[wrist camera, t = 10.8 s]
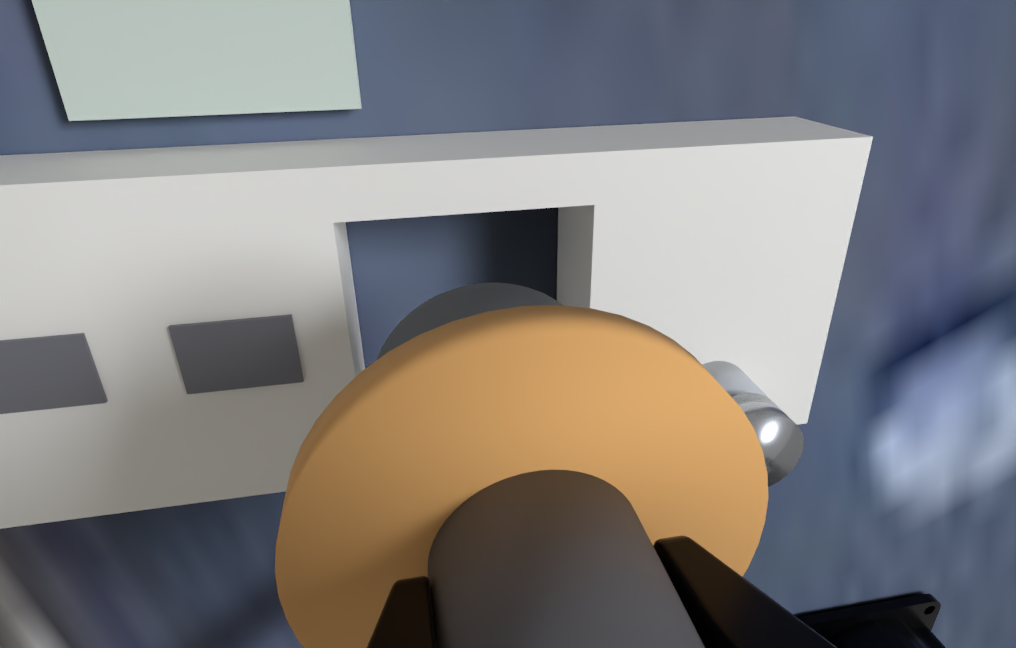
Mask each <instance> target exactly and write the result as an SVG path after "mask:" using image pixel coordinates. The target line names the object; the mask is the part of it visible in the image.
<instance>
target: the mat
mask: <svg viewBox="0 0 1016 648" xmlns="http://www.w3.org/2000/svg"><path fill="white" fill-rule="evenodd" d="M32 3H33V7H34V10H35V13H36V16H37V20H38V23H39V26H40V29H41V32H42V36H43V39H44V42H45V45H46V49H47V52H48V55H49V58H50V61H51V65H52V68H53V71H54V74H55V78H56V81H57V84H58V87H59V91H60V94H61V97H62V100H63V103H64V107H65V110H66V113H67V116H68V120H69V121H83V120H107V119H130V118H154V117H178V116H201V115H225V114H248V113H272V112H296V111H319V110H343V109H361V98H360V89H359V80H358V72H357V63H356V54H355V45H354V36H353V27H352V19H351V10H350V1H349V0H32Z"/></svg>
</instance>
